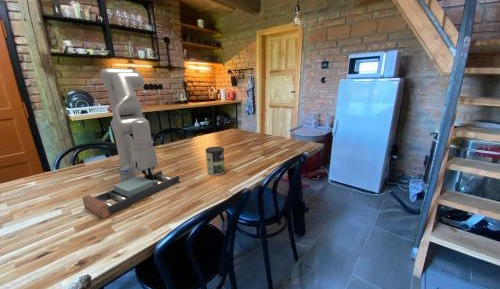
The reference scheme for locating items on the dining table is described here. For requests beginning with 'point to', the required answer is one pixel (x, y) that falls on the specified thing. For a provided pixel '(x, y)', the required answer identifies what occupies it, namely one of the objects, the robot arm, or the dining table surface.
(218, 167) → the coffee can
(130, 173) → the medicine box
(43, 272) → the dining table surface
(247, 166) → the dining table surface
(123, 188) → the slab
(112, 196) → the roller track
